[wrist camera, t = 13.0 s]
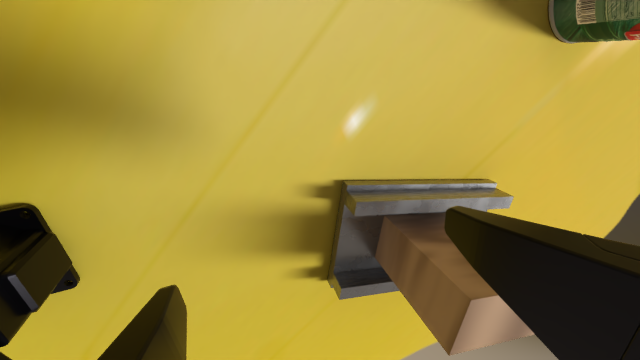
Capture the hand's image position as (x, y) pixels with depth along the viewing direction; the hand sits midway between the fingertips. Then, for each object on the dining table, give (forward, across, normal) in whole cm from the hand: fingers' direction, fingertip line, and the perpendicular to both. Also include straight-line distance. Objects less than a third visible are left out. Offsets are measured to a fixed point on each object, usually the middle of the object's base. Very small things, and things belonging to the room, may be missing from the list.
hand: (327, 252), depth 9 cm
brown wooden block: (+12, -12, +11) cm, 20 cm away
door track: (+13, -12, +11) cm, 21 cm away
